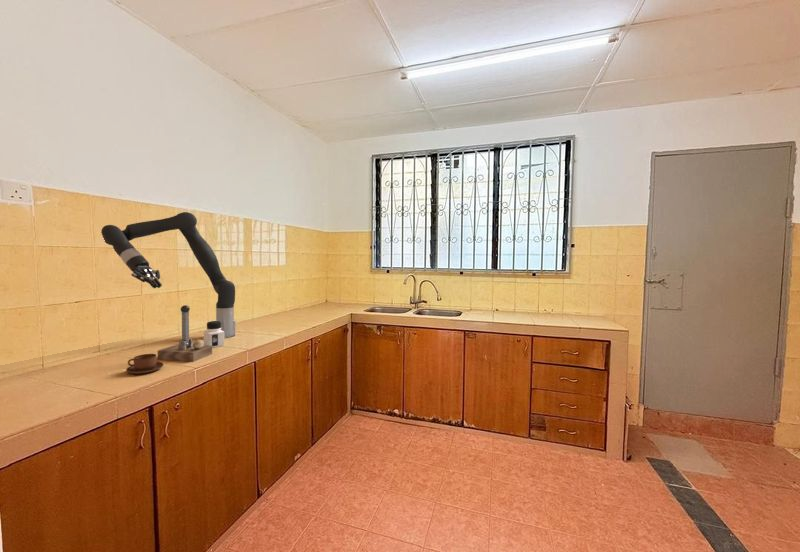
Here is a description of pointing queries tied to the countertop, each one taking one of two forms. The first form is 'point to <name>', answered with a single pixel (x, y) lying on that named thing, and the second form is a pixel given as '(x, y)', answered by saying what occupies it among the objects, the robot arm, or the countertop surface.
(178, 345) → the bench block
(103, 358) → the countertop surface
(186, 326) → the lever
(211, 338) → the container
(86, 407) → the countertop surface
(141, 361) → the cup and saucer
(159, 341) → the countertop surface
